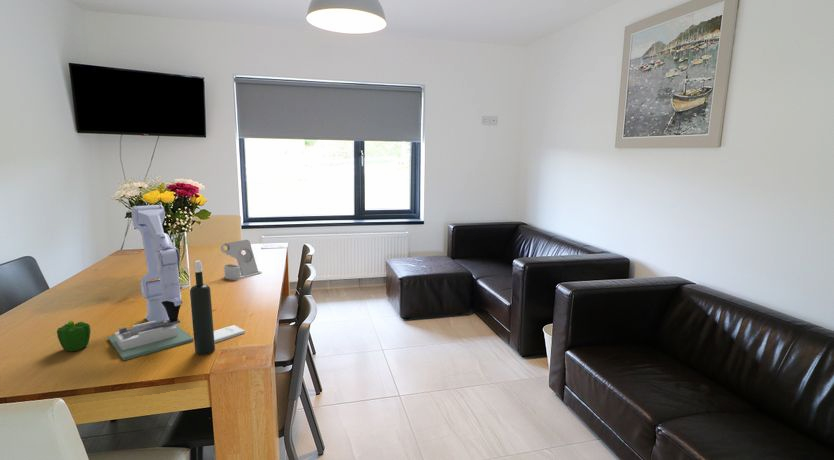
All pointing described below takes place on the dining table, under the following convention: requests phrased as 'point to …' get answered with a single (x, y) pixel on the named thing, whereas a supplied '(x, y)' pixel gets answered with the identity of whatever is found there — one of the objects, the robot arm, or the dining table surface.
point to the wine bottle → (202, 314)
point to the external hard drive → (227, 333)
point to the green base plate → (148, 340)
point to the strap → (150, 326)
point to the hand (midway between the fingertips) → (173, 320)
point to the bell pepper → (74, 335)
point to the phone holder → (240, 260)
